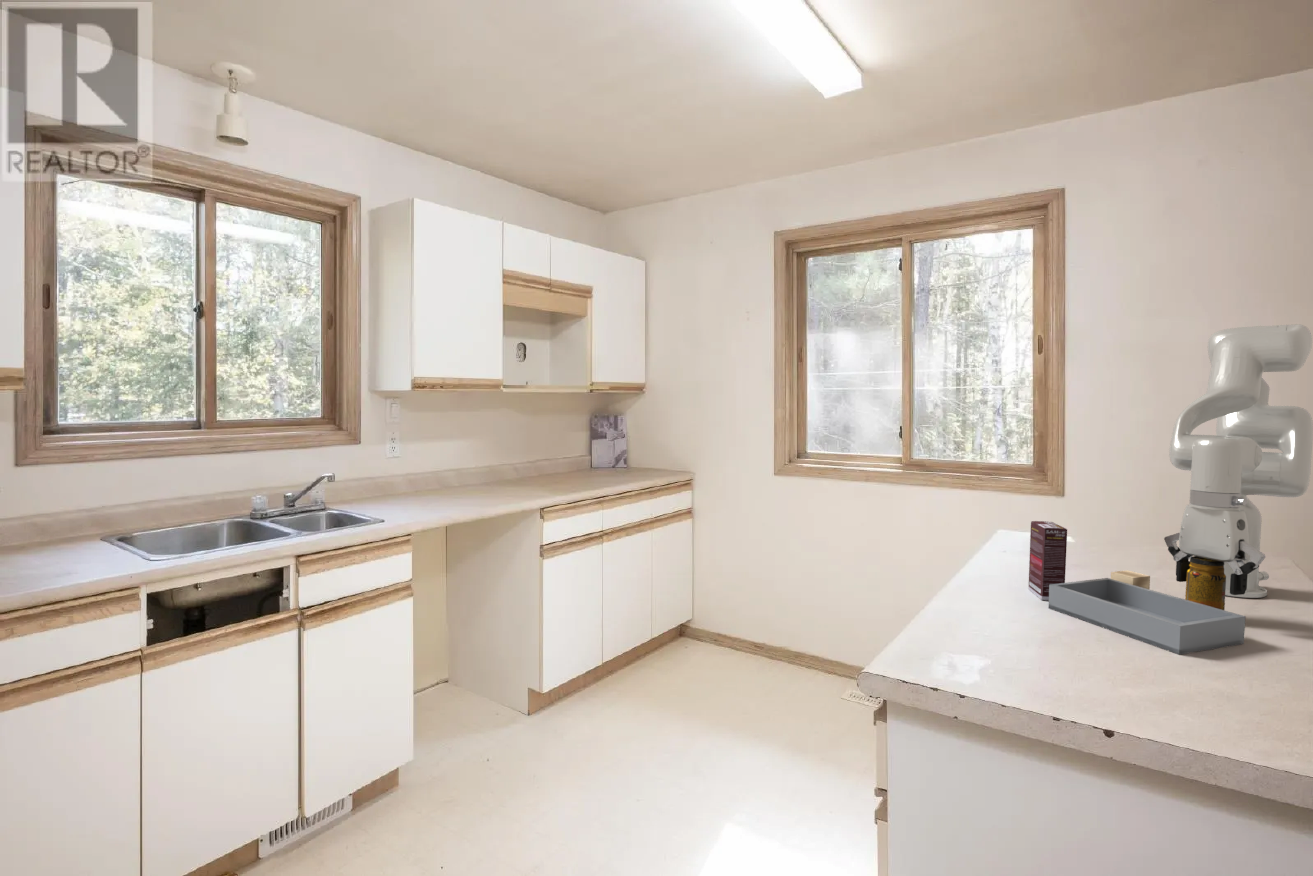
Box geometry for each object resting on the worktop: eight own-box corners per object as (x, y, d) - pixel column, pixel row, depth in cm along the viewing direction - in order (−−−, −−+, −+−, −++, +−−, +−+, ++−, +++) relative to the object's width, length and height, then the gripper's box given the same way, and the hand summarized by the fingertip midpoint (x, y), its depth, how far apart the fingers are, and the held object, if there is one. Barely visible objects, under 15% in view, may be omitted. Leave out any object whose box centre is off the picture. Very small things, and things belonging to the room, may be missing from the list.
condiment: (1196, 611, 137) (1199, 553, 136) (1245, 624, 129) (1248, 563, 128) (1173, 615, 134) (1175, 556, 133) (1220, 629, 126) (1224, 566, 125)
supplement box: (1065, 602, 143) (1068, 528, 142) (1041, 600, 144) (1043, 528, 143) (1050, 590, 151) (1053, 521, 150) (1027, 589, 152) (1029, 520, 151)
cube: (1126, 592, 150) (1127, 570, 149) (1149, 598, 145) (1150, 576, 145) (1110, 594, 148) (1111, 572, 148) (1132, 600, 144) (1133, 578, 143)
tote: (1106, 600, 143) (1107, 577, 143) (1243, 643, 119) (1245, 616, 118) (1048, 608, 139) (1049, 584, 138) (1178, 654, 114) (1180, 626, 113)
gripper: (1280, 506, 123) (1274, 598, 123) (1181, 494, 139) (1177, 575, 140) (1252, 507, 120) (1246, 601, 121) (1155, 495, 137) (1151, 577, 138)
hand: (1209, 587), depth 130 cm, fingers open, 9 cm apart
